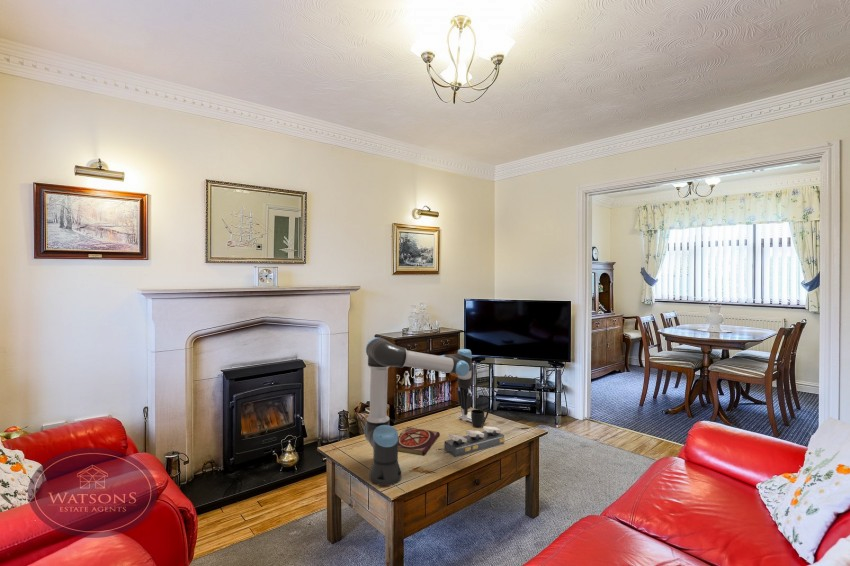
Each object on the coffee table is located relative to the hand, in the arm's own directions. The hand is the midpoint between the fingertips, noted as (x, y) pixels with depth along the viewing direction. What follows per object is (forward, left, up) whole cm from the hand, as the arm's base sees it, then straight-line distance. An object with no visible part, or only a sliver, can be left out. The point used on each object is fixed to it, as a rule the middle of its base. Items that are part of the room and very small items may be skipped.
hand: (464, 419), depth 233 cm
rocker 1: (-5, 0, -11) cm, 13 cm away
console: (+7, 0, -17) cm, 18 cm away
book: (-19, +22, -17) cm, 34 cm away
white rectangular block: (+7, 0, -11) cm, 13 cm away
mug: (+29, +24, -17) cm, 41 cm away
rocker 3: (+19, 0, -11) cm, 22 cm away
